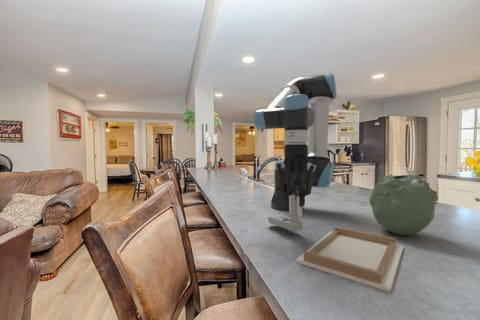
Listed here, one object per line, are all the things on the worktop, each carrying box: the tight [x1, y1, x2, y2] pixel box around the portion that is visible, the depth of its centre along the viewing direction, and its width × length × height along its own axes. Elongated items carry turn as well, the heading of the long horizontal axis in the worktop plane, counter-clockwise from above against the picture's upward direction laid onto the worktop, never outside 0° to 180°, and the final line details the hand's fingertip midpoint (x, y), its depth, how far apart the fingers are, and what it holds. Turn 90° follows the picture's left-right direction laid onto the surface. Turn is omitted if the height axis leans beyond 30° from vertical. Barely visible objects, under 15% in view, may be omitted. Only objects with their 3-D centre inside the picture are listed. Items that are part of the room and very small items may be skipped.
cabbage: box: [369, 173, 439, 236], centre depth 79 cm, size 16×19×20 cm
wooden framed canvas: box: [295, 226, 404, 293], centre depth 64 cm, size 26×20×3 cm
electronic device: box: [267, 199, 304, 232], centre depth 82 cm, size 5×10×15 cm
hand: (295, 215), depth 79 cm, fingers closed on electronic device, 2 cm apart
